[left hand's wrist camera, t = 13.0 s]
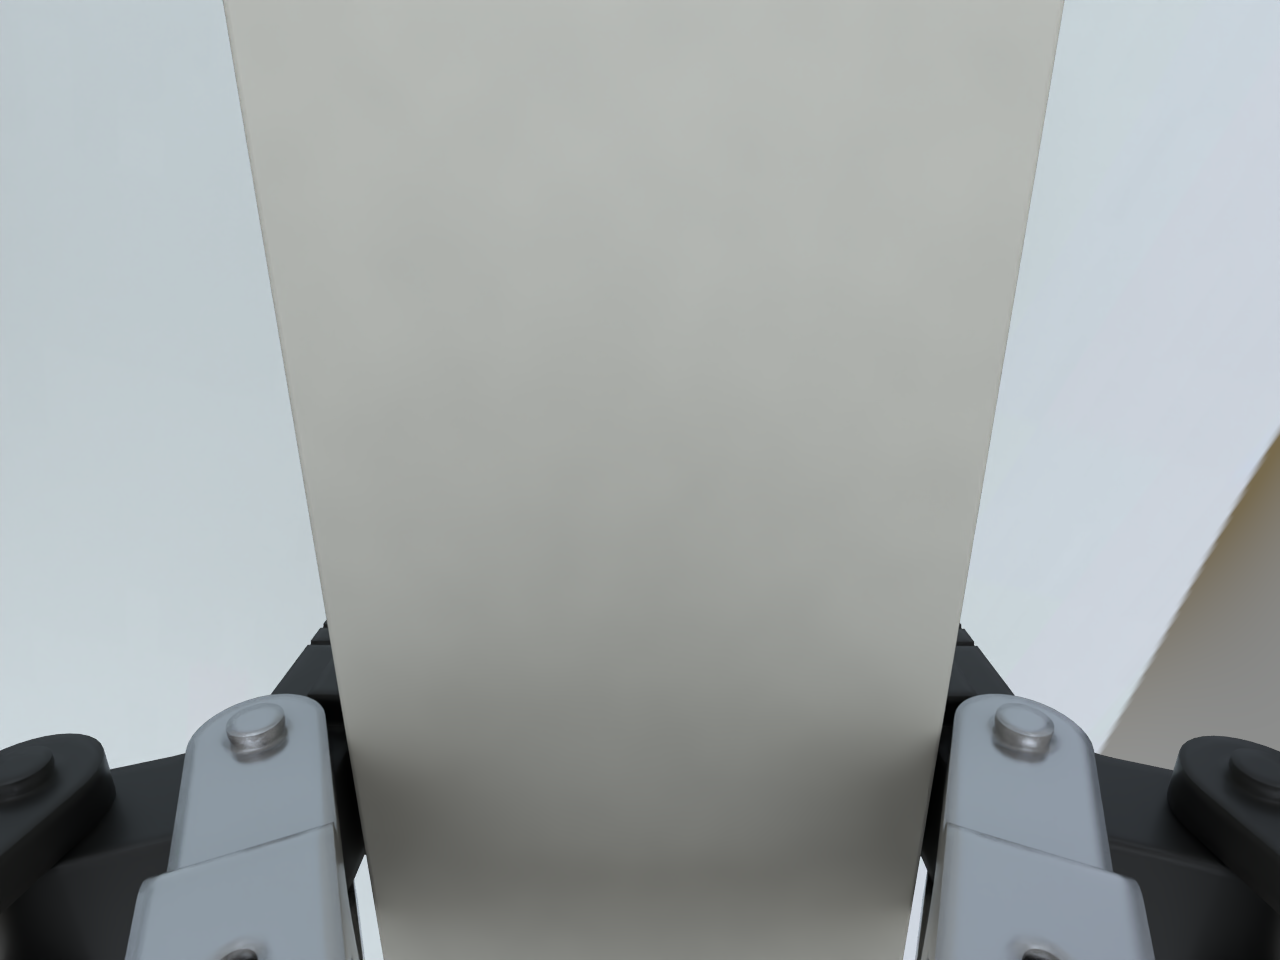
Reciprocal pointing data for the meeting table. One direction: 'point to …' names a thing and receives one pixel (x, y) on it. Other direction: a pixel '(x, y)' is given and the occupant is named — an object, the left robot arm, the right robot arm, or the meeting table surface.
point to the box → (643, 442)
